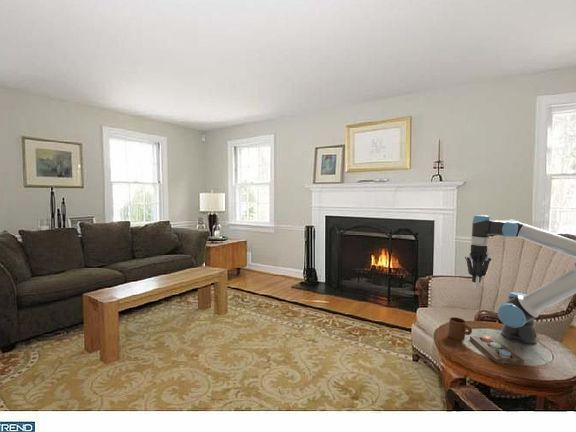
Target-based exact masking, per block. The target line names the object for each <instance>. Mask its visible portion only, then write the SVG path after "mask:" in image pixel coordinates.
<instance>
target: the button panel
mask: <svg viewBox="0 0 576 432" xmlns="http://www.w3.org/2000/svg"><path fill="white" fill-rule="evenodd" d="M482 336H483V335H481V336H479V335H469V341H470V342H472V343H473V344H474V345H475V346H476V347H477V348H479V349H480V350H481V351H482V352H483V353H484V354H485V355H486V356H488V357H489V358H490V359H491V360H492V361H493V360H494V361H493V362H494V363H496V364H504V363H511V364H512V365H525V359H524V358H522V357H521V356H520V355H518V354H517V353H516V352H514V351H513V350H512V349H510V347H508V346H507V345H505V344H504V343H503V342H501V341H500V340H499V339H497V337H495V336H490V337H491V338H492V342H495V343H498V344H500V345H501V349H503V350H507V351H509V352H510V353H511V356H510V358H503V357H501V356H500V355H499V350H493V349H492V348H490V343H486V342H483V341H482ZM511 364H510V365H511Z"/></svg>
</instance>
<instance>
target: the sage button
mask: <svg viewBox="0 0 576 432" xmlns="http://www.w3.org/2000/svg"><path fill="white" fill-rule="evenodd" d="M490 348H492V349H493V350H500V349H501V345H500V344H498V343H495V342H490Z"/></svg>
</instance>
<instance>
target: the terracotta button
mask: <svg viewBox="0 0 576 432" xmlns="http://www.w3.org/2000/svg"><path fill="white" fill-rule="evenodd" d="M481 336H482V341H483V342H486V343H490V342H492V338H491V337H492V336H489V335H481Z"/></svg>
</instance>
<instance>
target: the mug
mask: <svg viewBox="0 0 576 432" xmlns="http://www.w3.org/2000/svg"><path fill="white" fill-rule="evenodd" d="M466 329H467V330H466ZM472 332H473V329H472V327H471V326H470V325H468V324H467V322H466V320H465V319H463V318H460V317H455V316H453V317H450V318H449V323H448V334H447V335H448V337H449V338H450V339H452V340H454V341H460V342H461V341H464V340H465V337H466V336H471V334H472Z"/></svg>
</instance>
